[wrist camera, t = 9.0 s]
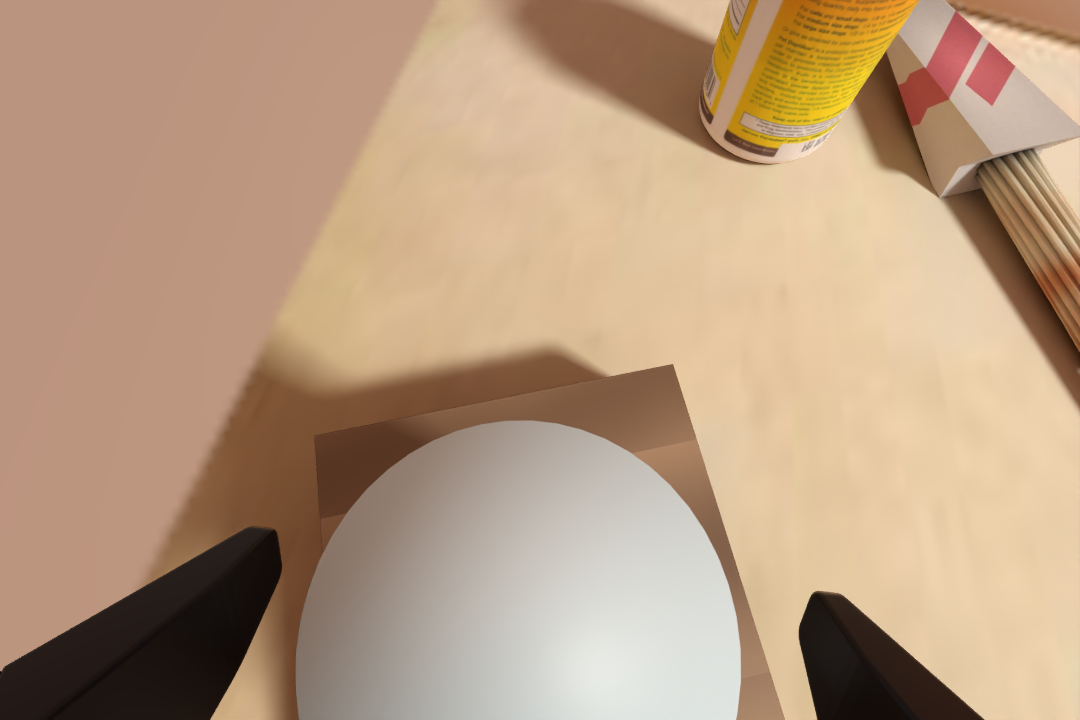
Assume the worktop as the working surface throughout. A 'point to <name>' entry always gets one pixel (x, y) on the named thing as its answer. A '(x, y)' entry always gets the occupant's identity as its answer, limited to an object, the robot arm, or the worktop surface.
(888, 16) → the supplement bottle
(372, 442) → the brown holed block
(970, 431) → the worktop surface
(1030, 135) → the paintbrush
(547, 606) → the peg
